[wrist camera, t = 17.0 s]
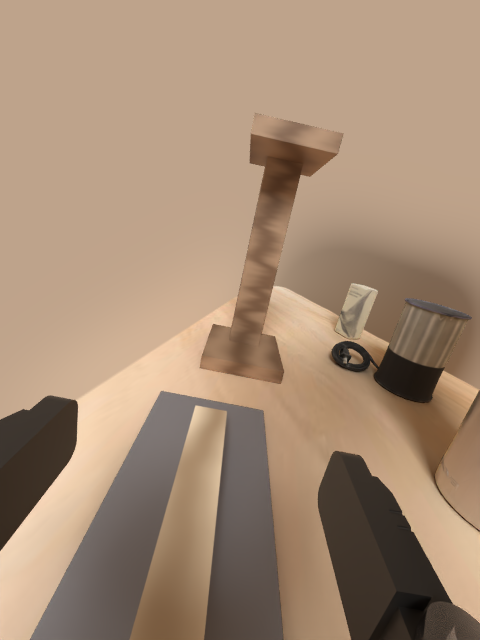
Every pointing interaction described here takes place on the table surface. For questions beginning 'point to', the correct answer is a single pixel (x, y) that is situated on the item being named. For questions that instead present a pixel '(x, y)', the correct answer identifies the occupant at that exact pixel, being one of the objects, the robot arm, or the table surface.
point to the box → (355, 311)
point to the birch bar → (185, 539)
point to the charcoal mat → (145, 524)
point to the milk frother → (412, 350)
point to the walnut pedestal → (267, 244)
